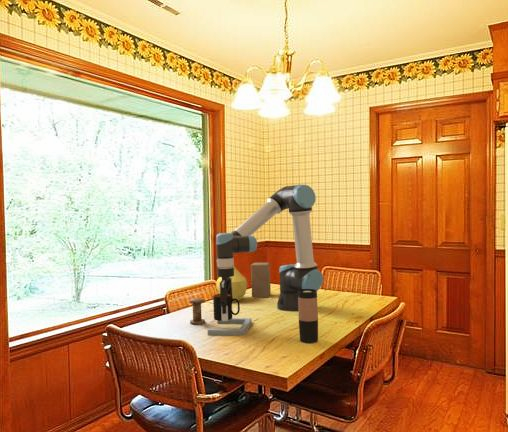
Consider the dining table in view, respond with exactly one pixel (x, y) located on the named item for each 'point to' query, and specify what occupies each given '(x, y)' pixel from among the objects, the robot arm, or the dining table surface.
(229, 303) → the mug
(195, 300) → the bobbin post
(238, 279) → the vase
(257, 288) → the wooden block
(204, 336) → the dining table surface
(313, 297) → the travel mug
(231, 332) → the notch board
